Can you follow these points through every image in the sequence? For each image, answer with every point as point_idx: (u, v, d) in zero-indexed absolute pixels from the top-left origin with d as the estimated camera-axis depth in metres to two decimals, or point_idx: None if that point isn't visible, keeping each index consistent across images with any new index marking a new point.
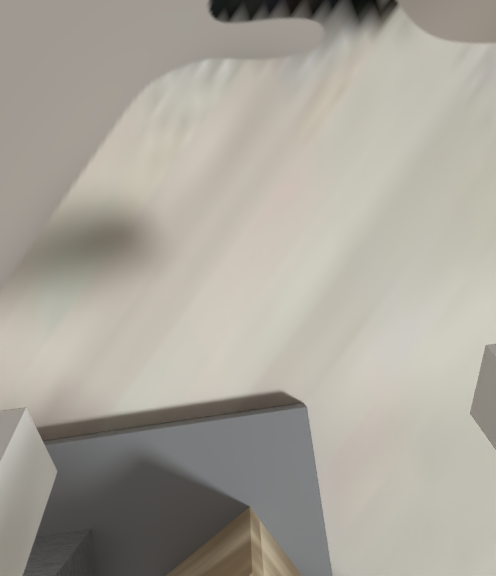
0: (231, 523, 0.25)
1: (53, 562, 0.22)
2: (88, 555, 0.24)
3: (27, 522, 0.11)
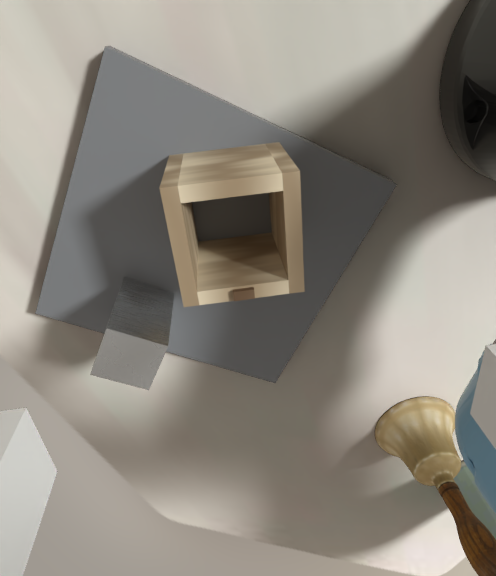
0: None
1: None
2: (137, 287, 0.31)
3: (27, 522, 0.11)
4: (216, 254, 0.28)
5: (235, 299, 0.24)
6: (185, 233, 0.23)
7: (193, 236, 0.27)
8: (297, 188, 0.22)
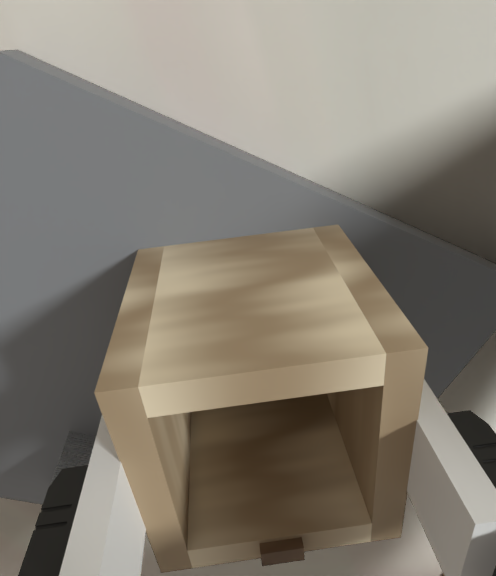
0: None
1: None
2: (90, 453, 0.18)
3: None
4: (224, 420, 0.16)
5: (265, 563, 0.12)
6: (160, 466, 0.10)
7: None
8: (416, 379, 0.10)
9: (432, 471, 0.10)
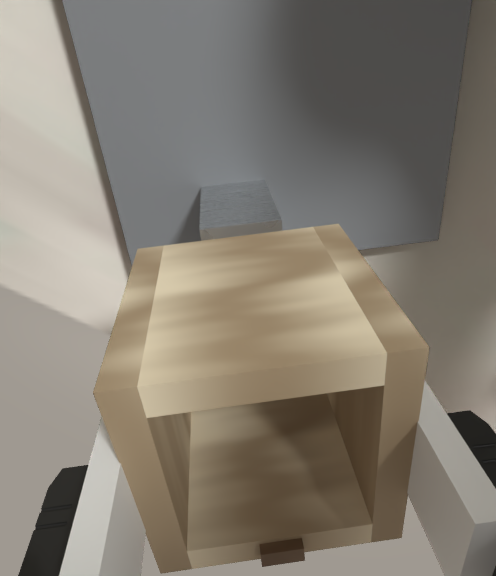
0: None
1: None
2: (220, 189, 0.25)
3: None
4: (224, 420, 0.16)
5: (265, 564, 0.12)
6: (159, 467, 0.10)
7: None
8: (417, 379, 0.09)
9: (432, 471, 0.10)
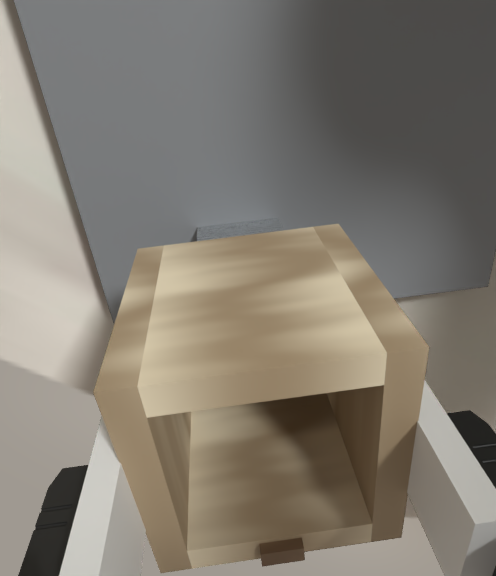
0: None
1: None
2: (221, 231, 0.19)
3: None
4: (223, 420, 0.16)
5: (265, 563, 0.12)
6: (159, 466, 0.10)
7: None
8: (417, 379, 0.09)
9: (432, 471, 0.10)
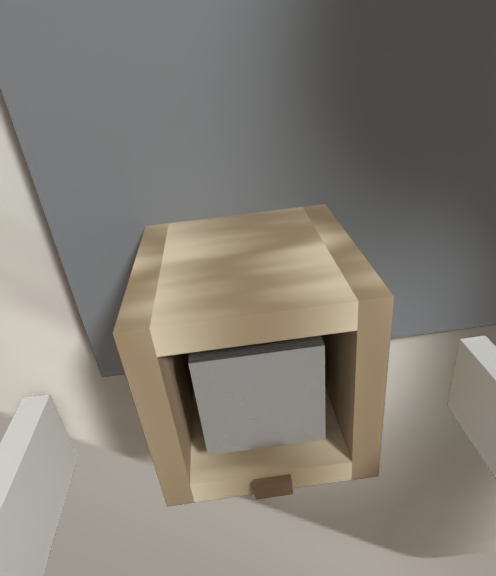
0: None
1: None
2: None
3: (52, 504, 0.11)
4: None
5: (258, 496, 0.14)
6: (167, 403, 0.12)
7: (185, 363, 0.16)
8: (385, 325, 0.11)
9: None
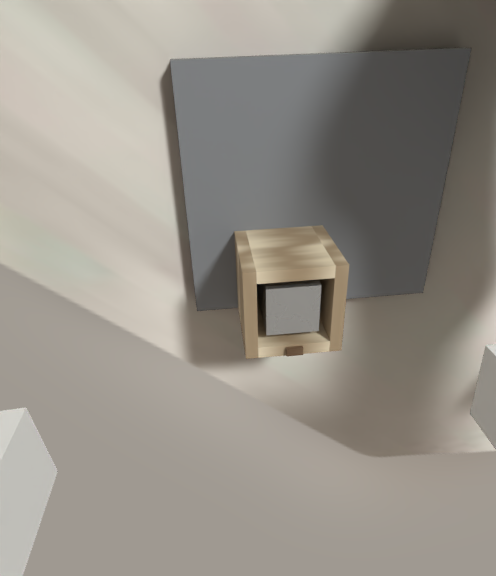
0: (235, 248, 0.34)
1: None
2: None
3: (27, 522, 0.11)
4: None
5: (287, 354, 0.31)
6: (256, 305, 0.29)
7: None
8: (345, 276, 0.29)
9: None
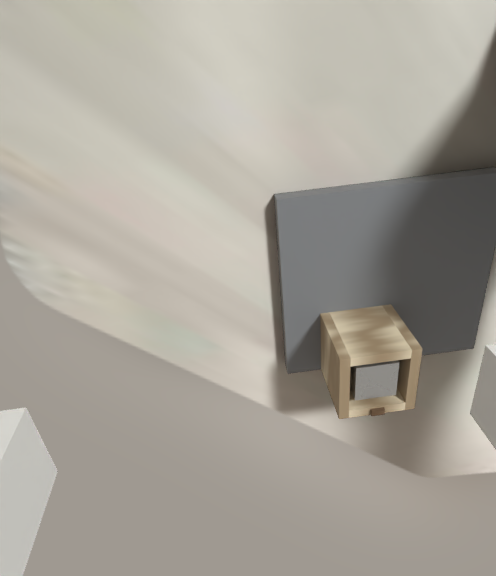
0: (321, 326, 0.42)
1: None
2: None
3: (27, 522, 0.11)
4: None
5: (372, 415, 0.39)
6: (349, 381, 0.37)
7: None
8: (419, 356, 0.37)
9: None
